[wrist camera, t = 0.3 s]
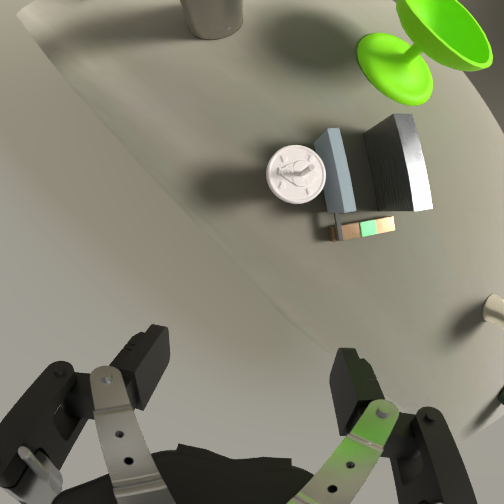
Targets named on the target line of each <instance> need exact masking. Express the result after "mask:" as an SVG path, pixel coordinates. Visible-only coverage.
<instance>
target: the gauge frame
mask: <svg viewBox="0 0 504 504" xmlns="http://www.w3.org/2000/svg"><path fill="white" fill-rule="evenodd" d="M363 137H364V141H365V145H366V149H367V153H368V158H369V162H370V167H371V172H372V177H373V182H374V187H375V193H376V198H377V205H378V211H418V210H424V209H430V208H432V202H431V195H430V189H429V183H428V177H427V172H426V167H425V162H424V158H423V153H422V149H421V145H420V141H419V137H418V133H417V129H416V126H415V122H414V119H413V116H412V114H392V115H391V116H389V117H388V118H386V119H384V120H383V121H381V122H380V123H378V124H377V125H375V126H374V127H372V128H371V129H370V130H368V131H367V132H365V133H364V134H363ZM341 227H342V234H343V240H347V239H352V238H357V237H363V236H368V235H373V234H377V233H383V232H388V231H393V230H395V226H394V218H393V217H391V216H387V217H381V218H376V219H370V220H364V221H359V222H353V223H347V224H342V225H341ZM328 230H329V236H330V241H332V242H337V241H338V237H337V231H336V226H331V227H328Z"/></svg>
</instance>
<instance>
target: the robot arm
mask: <svg viewBox="0 0 504 504" xmlns="http://www.w3.org/2000/svg"><path fill="white" fill-rule="evenodd" d="M180 2H181V5H182V8H183V11H184V14H185V18H186V21H187V24H188V27H189V29H190V31H191V33H192V34H193V35H195V36H197V37H199V38H203V39H220V38H224V37H227V36H229V35H231V34H233V33H235V32H236V31H237V30H238V29H239V28H240V27H241V25H242V23H243V0H180ZM169 359H170V345H169V331H168V328H167V327H164V326H159V325H154V324H152V325H151V326H150V327H149V328H148V330H147V331H146V332H145V333H144V332H140V333H138V334H136V335H134V336H133V337H132V338H131V339H130V340H129V342H128V343H127V344H126V345H125V346H124V348H123V349H122V350H121V351H120V353H119V354H118V355H117V356H116V357H115V359H114V360H113V361H112V362H111V364H110V365H109V366H100V367H98V368H96V369H94V370H93V371H92V372H91V374H88V373H78V372H74V369H73V366H72V365H71V364H70V363H68V362H65V361H57V362H54V363H52V364H50V365H49V366H48V367H47V368H46V369H45V370H44V371H43V372H42V373H41V375H40V376H39V377H38V378H37V379H36V380H35V381H34V383H33V384H32V385H31V386H30V387H29V388H28V390H27V391H26V392H25V393H24V394H23V396H22V397H21V398H20V399H19V400H18V402H17V403H16V404H15V405H14V406H13V408H12V409H11V410H10V411H9V413H8V414H7V415H6V416H5V418H4V419H3V420H2V422H1V423H0V487H1V488H2V489H3V490H4V491H5V492H7V493H8V494H9V495H10V496H11V497H13V498H14V499H16V500H18V501H19V502H20V503H21V504H350V503H351V501H352V500H353V499H354V497H355V495H356V494H357V493H358V491H359V490H360V488H361V487H362V485H363V484H364V482H365V481H366V479H367V478H368V476H369V474H370V472H371V471H372V469H373V468H374V466H375V464H376V463H377V461H378V459H379V457H388V458H390V461H391V466H392V471H393V475H394V480H395V485H396V491H397V496H398V502H399V504H477V501H476V498H475V494H474V491H473V488H472V486H471V482H470V480H469V477H468V474H467V471H466V469H465V466H464V463H463V461H462V458H461V456H460V453H459V451H458V448H457V446H456V443H455V441H454V439H453V436H452V434H451V432H450V430H449V427H448V425H447V423H446V421H445V419H444V416H443V415H442V413H441V412H440V411H439V410H437V409H436V408H433V407H423V408H421V409H419V410H418V412H417V413H416V415H414V414H406V413H401V412H399V410H398V408H397V407H396V405H394V404H393V403H392V402H390V401H387V400H385V398H384V395H383V393H382V390H381V388H380V386H379V383H378V381H377V380H376V379H377V378H376V376H375V374H374V371H373V369H372V367H371V365H370V364H369V363H368V362H367V361H366V360H365V359H359V356H358V354H357V351H356V349H355V348H339V349H338V351H337V354H336V357H335V361H334V364H333V367H332V370H331V373H330V388H331V393H332V398H333V403H334V407H335V413H336V418H337V423H338V428H339V434H340V436H346V437H345V438H344V440H343V441H342V442H341V444H340V445H339V446H338V447H337V449H336V450H335V451H334V453H333V454H332V455H331V456H330V458H329V459H328V460H327V461H326V462H325V464H324V465H323V466H322V467H321V468H320V469H319V471H318V472H317V473H316V474H315V475H313V474H311V473H310V472H308V471H306V470H304V469H301V468H298V467H295V466H292V465H291V458H271V457H259V458H249V459H230V458H227V457H225V456H222V455H219V454H216V453H214V452H211V451H209V450H206V449H202V448H197V447H192V446H187V445H183V444H178V447H177V450H166V451H160V452H156V453H152V454H150V452H149V449H148V447H147V444H146V442H145V440H144V437H143V435H142V432H141V430H140V427H139V424H138V422H137V419H136V416H135V414H134V409H135V408H136V409H140V410H143V411H144V409H145V407H146V405H147V403H148V401H149V399H150V397H151V395H152V394H153V392H154V390H155V388H156V386H157V384H158V382H159V380H160V379H161V376H162V375H163V373H164V371H165V369H166V367H167V366H168V363H169ZM59 406H60V407H59ZM58 407H59V408H58ZM57 409H58V410H57ZM56 410H57V411H56ZM54 413H55V414H54ZM88 419H94V420H95V424H96V428H97V433H98V437H99V441H100V444H101V449H102V452H103V456H104V459H105V462H106V466H107V469H108V472H109V473H108V474H106V475H104V476H101V477H99V478H97V479H94V480H91V481H89V482H86V483H84V484H81V485H78V486H76V487H73V488H70V489H67V490H65V491H62V492H61V490H62V483H63V478H62V475H61V473H60V471H59V470H60V469H61V467H62V465H63V463H64V461H65V459H66V458H67V456H68V454H69V452H70V450H71V449H72V447H73V445H74V443H75V441H76V440H77V438H78V436H79V434H80V433H81V431H82V429H83V427H84V426H85V424H86V422H87V420H88Z"/></svg>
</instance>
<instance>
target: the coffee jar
mask: <svg viewBox="0 0 504 504" xmlns="http://www.w3.org/2000/svg"><path fill="white" fill-rule="evenodd" d="M499 401H500V402H501V403H502V404H503V405H504V388H503V389H502V392H501V394H500V396H499Z"/></svg>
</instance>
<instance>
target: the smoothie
mask: <svg viewBox="0 0 504 504" xmlns="http://www.w3.org/2000/svg"><path fill="white" fill-rule="evenodd" d="M266 179H267V182H268V185H269V187H270V189H271V190H272V192H273V193H274V194H275V195H276V196H277V197H278V198H279V199H281V200H283V201H285V202H288V203H292V204H302V203H305V202H308V201H310V200H312V199H313V198H315V197H316V196H317V195H318V194H319V193H320V192H321V190H322V189H323V187H324V184H325V180H326V171H325V167H324V164H323V162H322V160H321V158H320V157H319V156H318V155H317V154H316V153H315V152H314V151H313V150H311V149H309V148H307V147H305V146H301V145H290V146H286V147H283V148H281V149H280V150H278V151H277V152H276V153H275V154H274V155H273V156H272V157H271V159H270V161H269V162H268V165H267V169H266Z"/></svg>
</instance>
